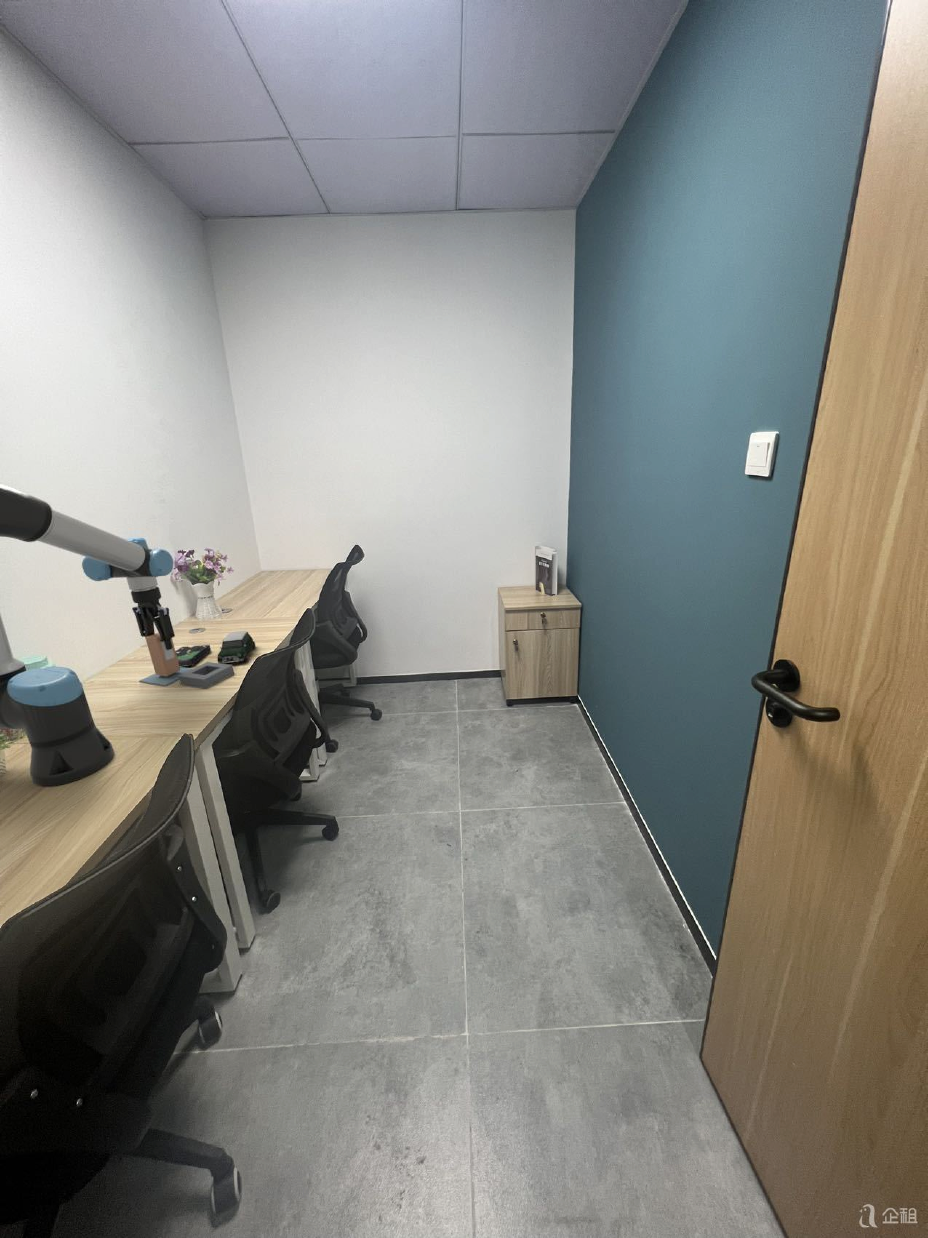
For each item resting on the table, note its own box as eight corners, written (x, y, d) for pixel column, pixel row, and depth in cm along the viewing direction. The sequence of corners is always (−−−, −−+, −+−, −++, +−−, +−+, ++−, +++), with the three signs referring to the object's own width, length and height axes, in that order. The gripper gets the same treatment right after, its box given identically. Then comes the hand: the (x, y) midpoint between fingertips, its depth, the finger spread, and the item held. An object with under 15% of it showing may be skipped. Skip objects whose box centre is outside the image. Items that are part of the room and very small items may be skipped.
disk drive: (183, 653, 178) (161, 668, 164) (181, 646, 178) (159, 660, 163) (211, 651, 179) (192, 666, 164) (210, 644, 178) (190, 658, 164)
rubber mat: (165, 686, 151) (165, 685, 151) (139, 682, 156) (139, 680, 156) (198, 670, 162) (197, 669, 162) (172, 667, 166) (172, 665, 166)
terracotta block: (166, 676, 155) (156, 638, 151) (155, 674, 157) (145, 637, 153) (180, 670, 160) (170, 633, 155) (169, 668, 161) (159, 632, 157)
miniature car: (217, 668, 163) (212, 646, 160) (231, 649, 180) (227, 629, 177) (245, 665, 164) (240, 643, 162) (257, 646, 181) (252, 626, 179)
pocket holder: (206, 688, 148) (203, 679, 147) (180, 684, 152) (178, 675, 151) (234, 673, 158) (232, 665, 157) (209, 670, 162) (207, 661, 161)
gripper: (176, 586, 149) (194, 655, 157) (136, 584, 156) (155, 650, 163) (153, 592, 143) (173, 665, 150) (112, 590, 149) (133, 659, 157)
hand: (163, 657), depth 157 cm, fingers closed on terracotta block, 5 cm apart
